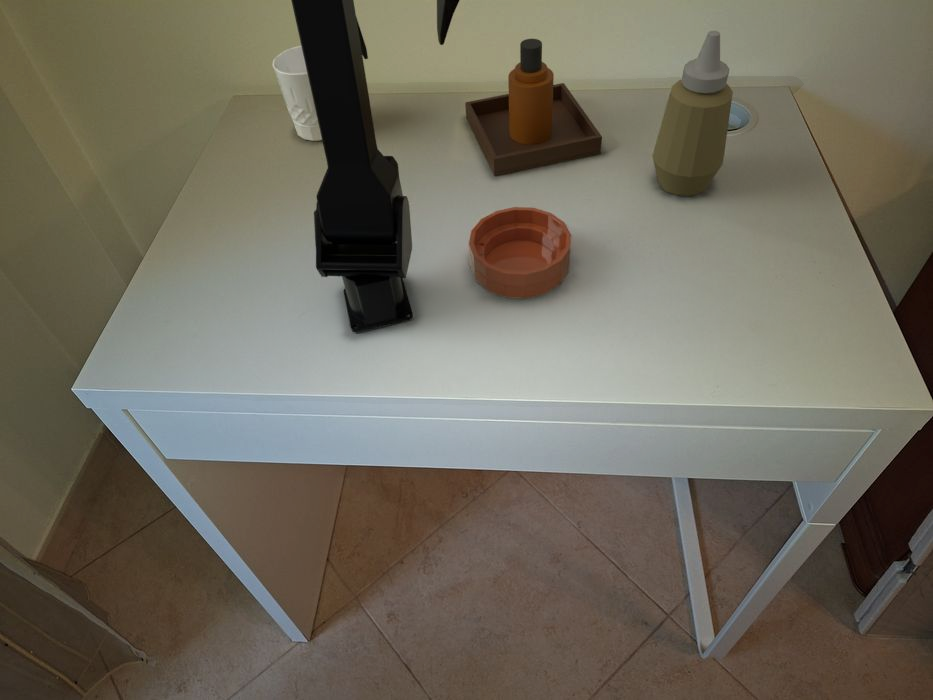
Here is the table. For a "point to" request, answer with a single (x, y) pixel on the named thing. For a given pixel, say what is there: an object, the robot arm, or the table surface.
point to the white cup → (297, 92)
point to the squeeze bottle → (695, 124)
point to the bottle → (530, 96)
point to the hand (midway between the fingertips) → (403, 50)
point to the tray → (506, 155)
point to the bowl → (520, 252)
